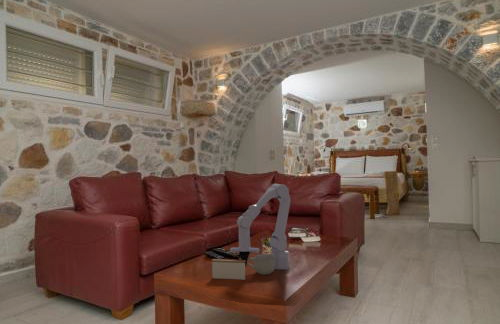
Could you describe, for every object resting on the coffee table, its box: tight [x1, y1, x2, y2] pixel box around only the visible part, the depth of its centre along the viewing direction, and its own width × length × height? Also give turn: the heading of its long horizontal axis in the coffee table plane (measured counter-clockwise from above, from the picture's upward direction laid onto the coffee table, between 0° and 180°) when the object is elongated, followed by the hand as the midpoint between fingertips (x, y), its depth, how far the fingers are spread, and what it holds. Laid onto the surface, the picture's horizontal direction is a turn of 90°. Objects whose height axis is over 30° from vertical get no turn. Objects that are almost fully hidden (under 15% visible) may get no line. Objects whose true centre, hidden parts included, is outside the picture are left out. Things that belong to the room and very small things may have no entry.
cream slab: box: [211, 258, 246, 280], centre depth 160 cm, size 16×2×9 cm, turn 79°
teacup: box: [247, 253, 276, 276], centre depth 168 cm, size 14×11×8 cm
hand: (244, 266), depth 169 cm, fingers closed
